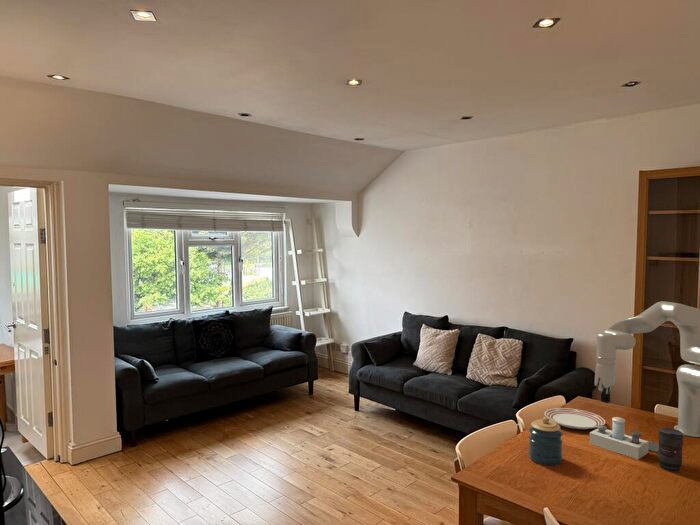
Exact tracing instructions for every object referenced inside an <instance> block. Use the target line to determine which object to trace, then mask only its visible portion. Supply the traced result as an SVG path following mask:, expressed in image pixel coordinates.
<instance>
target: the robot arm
mask: <svg viewBox="0 0 700 525" xmlns="http://www.w3.org/2000/svg"><path fill="white" fill-rule="evenodd" d="M665 322H672V324H674V325H675V326H676V327H677V329H678V331H679V338H680V341H679V342H680V346H679V348H680V350H679V351H680V353H679V354H680V358H681V359H682V360H683V361H685V362H688V363H690V364H681V365H680V366H678V368H677V370H676V380H677V386H678V405H677V406H678V410H677V411H678V412H677V416H678V417H677V424H675V425H674V426H673V429H676V430H678V431H681V432H682V433H683V436H688V437H693V438H700V308H697V307H693V306H689V305H686V304H682V303H679V302H671V301H664V300H663V301H662V300H661V301H658V302H655V303H654V304H653V305H651V306H649V307H648V308H647V309H645V310H644V311H643V312H641V313H640V314H638V315H636V316H632V317H629V318H626V319H622V320H619V321H617V322H615V323H614V324H611V326H609V327H607V328H606V329H605V330H604V331H602V332H598V333H597V335H596V358H595V359H596V361H595V362H596V364H595V365H596V366H595V372H594V386H595V387H598V388H597V389H598V391H600V402H601V403H606V404H610V403H611V392H612V388H613V387H614V386H615V385H616V378H617V377H616V366H617V361H616V359H617V357H616V356H617V351H616V350H619V351H621V350H622V351H628V350H631V349H633V348H634V347H635V346H636V342H637V339H636V337H635V336H633V335H634V334H645V333H646V334H647V333H650V332H652V331H655V330H656V329H657V328H659V326H661V325H662V324H665ZM697 365H698V366H697Z"/></svg>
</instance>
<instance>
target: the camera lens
mask: <svg viewBox="0 0 700 525" xmlns="http://www.w3.org/2000/svg"><path fill="white" fill-rule="evenodd" d="M658 444H659V452H658V453H657V457H658V464H659V467H660V468H661V469H663V470H665V471H668V472H672V473H678V472H680V470H681V468H682V464H683V445H684V435H683V433H682V432H681V431H678V430H676V429H674V428H671V427H660V428H659V431H658Z"/></svg>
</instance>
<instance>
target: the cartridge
mask: <svg viewBox="0 0 700 525" xmlns="http://www.w3.org/2000/svg"><path fill="white" fill-rule="evenodd" d="M611 421H612V429H611V431H612V438H614V439H618V440H621V441H623V440H624V434H625V430H626V429H625V427H626V426H625V423H626V419H624V418H622V417H617V416H615V417H612V418H611ZM625 435H626V434H625Z"/></svg>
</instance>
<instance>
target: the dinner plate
mask: <svg viewBox="0 0 700 525" xmlns="http://www.w3.org/2000/svg"><path fill="white" fill-rule="evenodd" d="M544 417H547V418H548V419H549V420H551V421H554V422H555V423H556V424H558V425H559V426H560V427H561V426H562V427H565V428H568V429H574V430H590V429H597V425H604V426H605V424H606V420H605V419H604V418H603V417H602V416H601V415H599V414H596V413H594V412H590V411H587V410H582V409H576V408H570V407H569V408H568V407H567V408H566V407H555V408H550V409H547V410H546V411H544Z"/></svg>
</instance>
